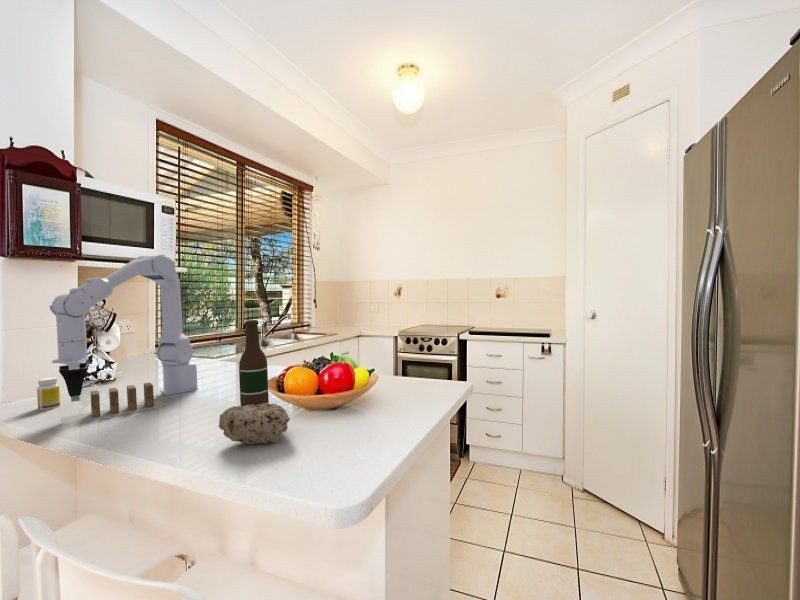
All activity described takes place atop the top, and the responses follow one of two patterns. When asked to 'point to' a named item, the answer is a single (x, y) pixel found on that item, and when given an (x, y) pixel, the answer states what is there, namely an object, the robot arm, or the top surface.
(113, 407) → the tile
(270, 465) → the top surface
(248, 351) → the beer bottle
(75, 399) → the tile
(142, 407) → the runner mat
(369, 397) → the top surface
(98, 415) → the tile
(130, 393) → the tile
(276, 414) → the pumice stone
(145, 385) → the tile
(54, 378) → the supplement bottle
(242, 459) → the top surface
